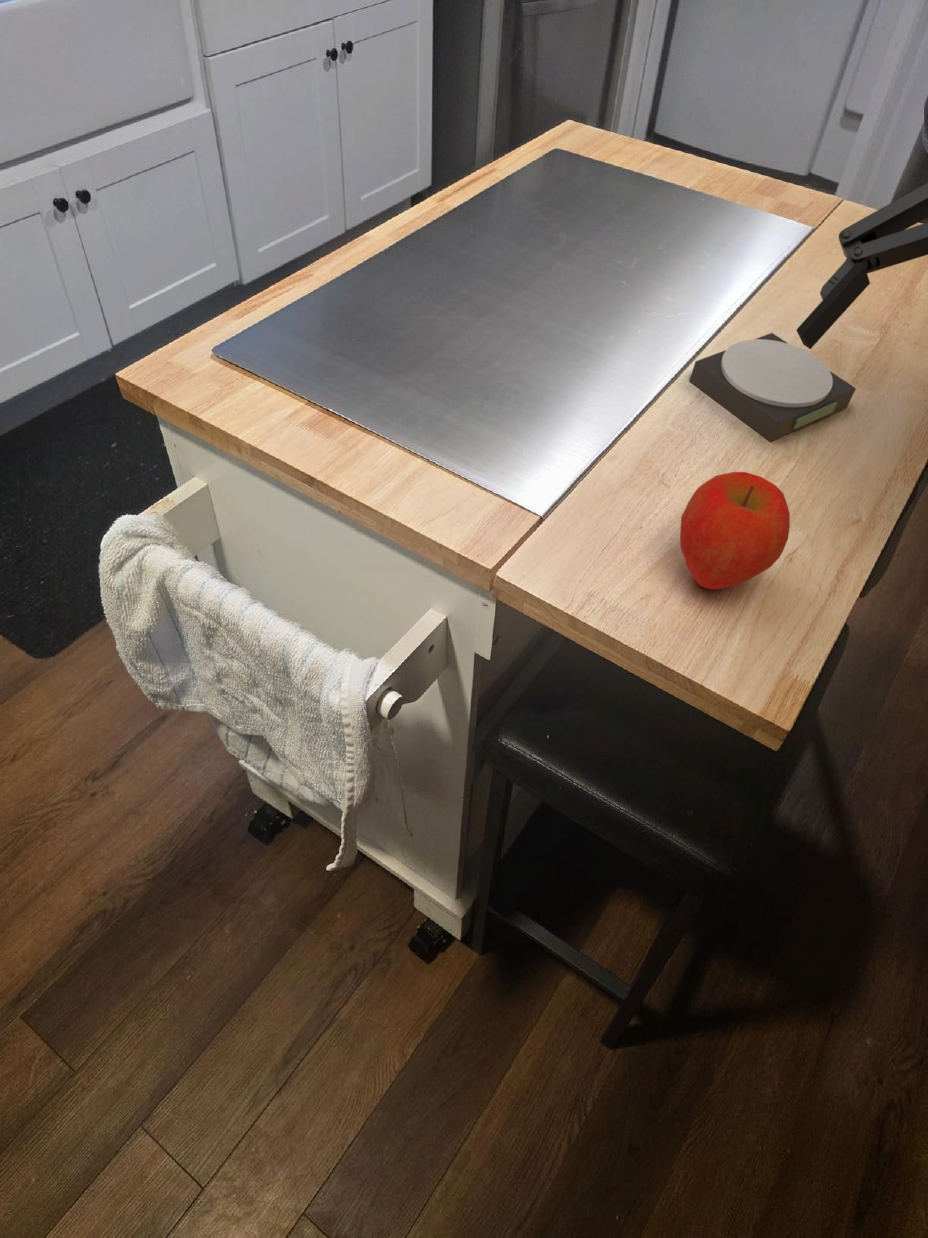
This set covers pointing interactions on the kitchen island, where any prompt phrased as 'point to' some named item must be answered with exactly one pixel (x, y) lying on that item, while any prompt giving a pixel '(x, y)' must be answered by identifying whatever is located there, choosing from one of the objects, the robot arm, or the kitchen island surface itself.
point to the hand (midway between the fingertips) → (869, 384)
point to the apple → (733, 529)
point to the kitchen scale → (772, 385)
